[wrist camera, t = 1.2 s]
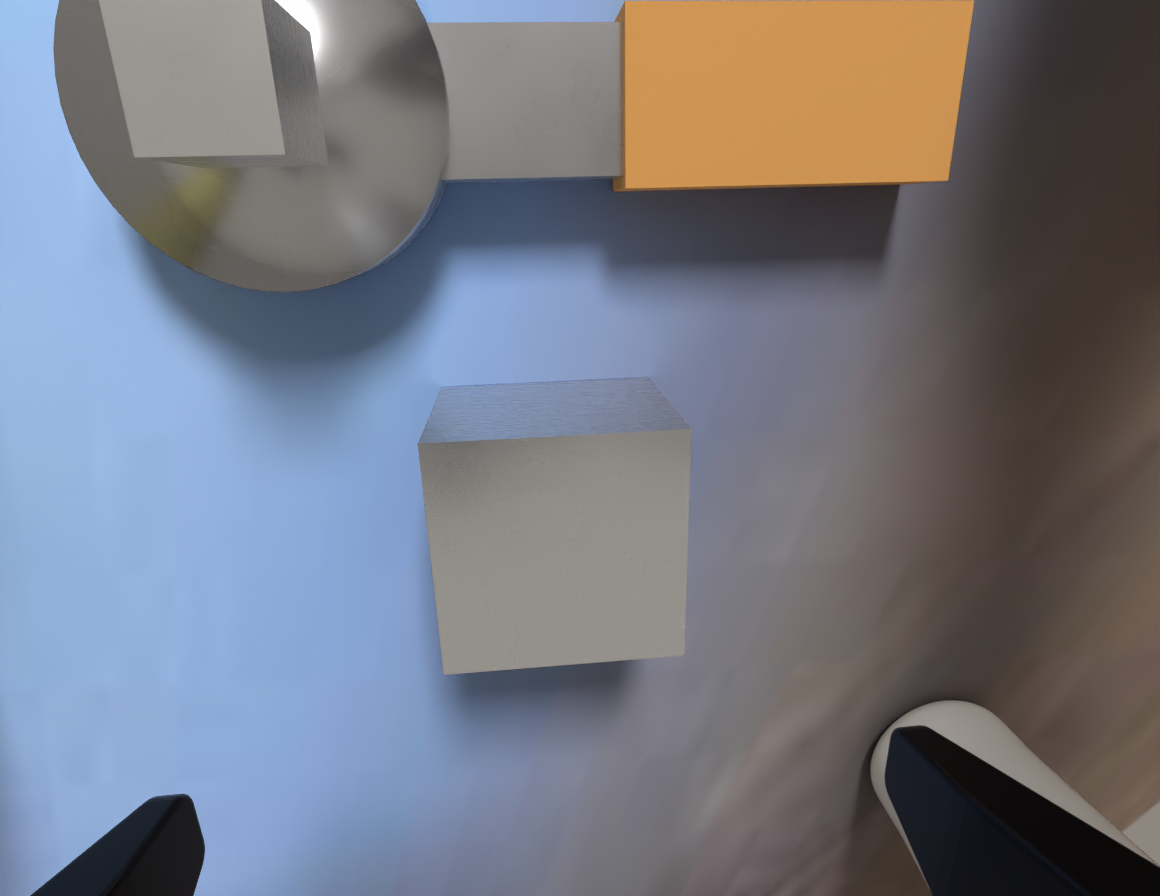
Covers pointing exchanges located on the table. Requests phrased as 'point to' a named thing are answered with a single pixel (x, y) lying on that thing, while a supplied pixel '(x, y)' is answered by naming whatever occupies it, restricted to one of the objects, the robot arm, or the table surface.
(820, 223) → the table surface
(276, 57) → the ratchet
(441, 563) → the brushed metal cube
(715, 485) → the table surface
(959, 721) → the drinking glass
